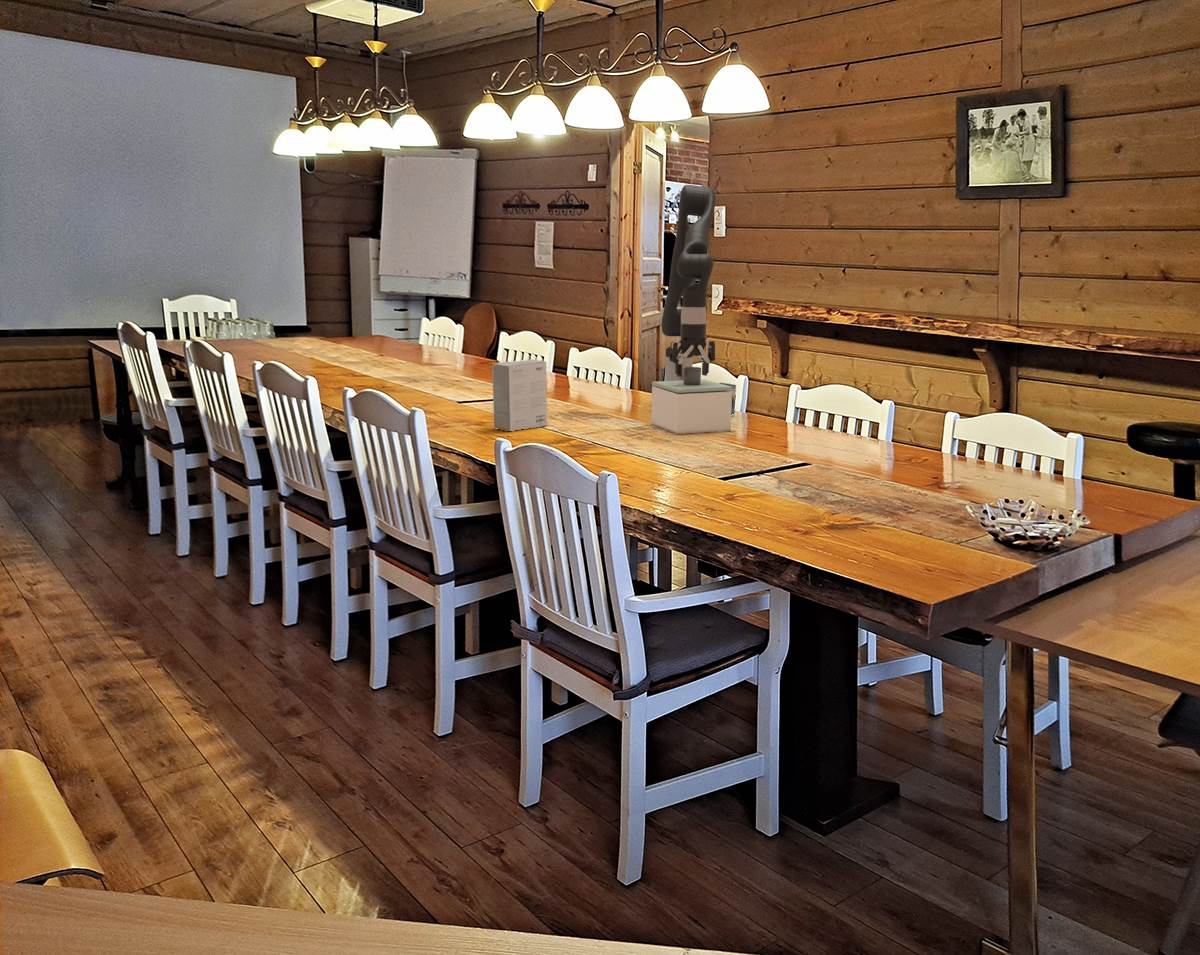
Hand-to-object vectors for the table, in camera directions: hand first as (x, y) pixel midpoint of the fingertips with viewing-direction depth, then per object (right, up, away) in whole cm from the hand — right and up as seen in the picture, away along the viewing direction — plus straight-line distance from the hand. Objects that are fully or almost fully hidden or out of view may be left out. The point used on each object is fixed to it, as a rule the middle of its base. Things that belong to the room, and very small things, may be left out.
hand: (691, 375), depth 321 cm
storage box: (0, -15, +4) cm, 16 cm away
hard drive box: (-52, -16, +1) cm, 54 cm away
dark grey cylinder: (0, -2, +1) cm, 3 cm away
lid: (0, -3, +1) cm, 4 cm away
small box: (+11, -11, +24) cm, 28 cm away
